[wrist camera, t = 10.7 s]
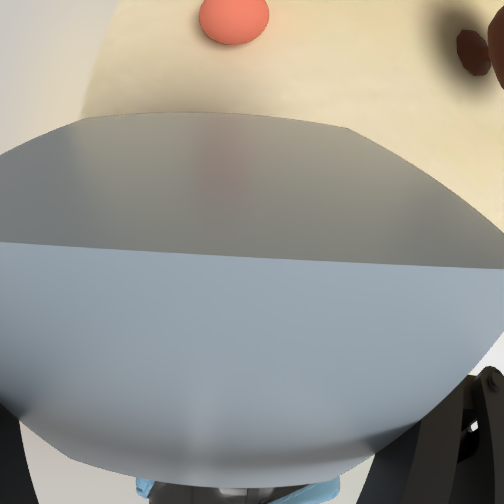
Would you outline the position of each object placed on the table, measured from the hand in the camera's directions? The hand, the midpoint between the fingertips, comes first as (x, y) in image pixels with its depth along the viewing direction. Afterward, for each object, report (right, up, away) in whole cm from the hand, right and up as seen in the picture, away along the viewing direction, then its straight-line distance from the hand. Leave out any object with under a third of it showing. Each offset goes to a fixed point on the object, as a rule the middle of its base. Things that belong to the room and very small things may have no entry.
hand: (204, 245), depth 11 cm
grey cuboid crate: (0, 0, +1) cm, 1 cm away
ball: (+1, +17, +3) cm, 17 cm away
